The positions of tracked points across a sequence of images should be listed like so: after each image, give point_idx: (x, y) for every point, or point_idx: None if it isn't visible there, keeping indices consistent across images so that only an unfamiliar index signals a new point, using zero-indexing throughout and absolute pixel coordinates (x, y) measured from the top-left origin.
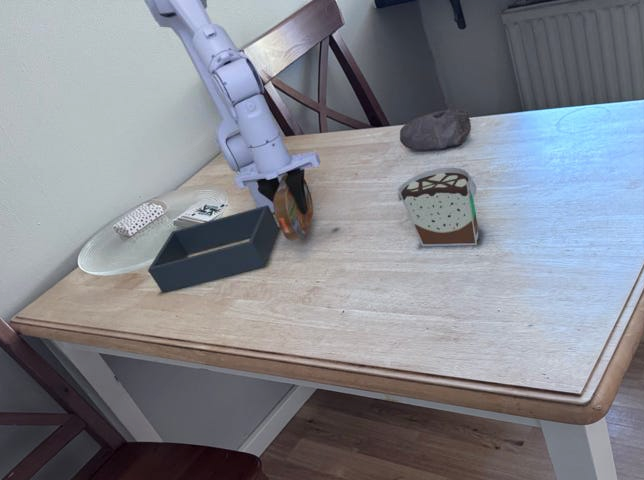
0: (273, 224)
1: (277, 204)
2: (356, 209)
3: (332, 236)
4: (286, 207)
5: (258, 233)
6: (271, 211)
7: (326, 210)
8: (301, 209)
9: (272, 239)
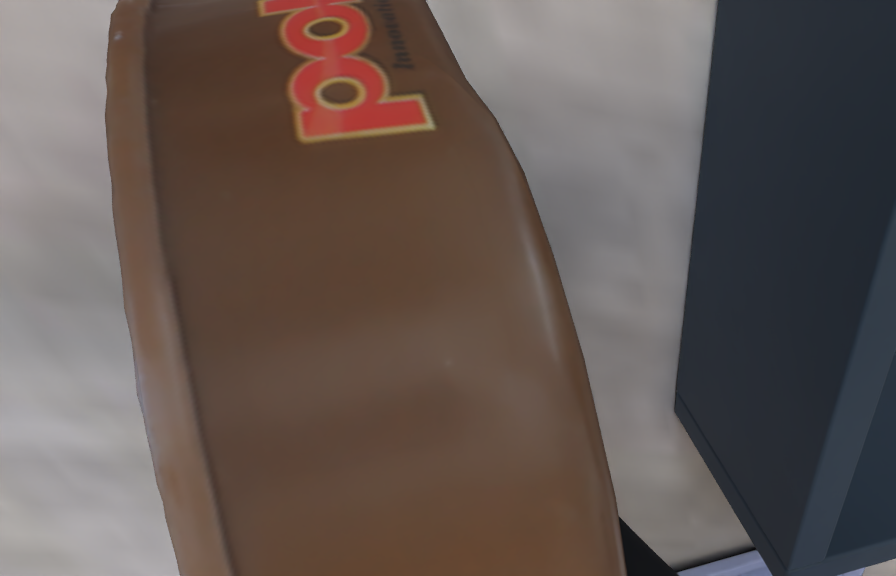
0: (716, 418)
1: (481, 507)
2: (5, 565)
3: (18, 233)
4: (180, 411)
5: (870, 176)
6: (757, 560)
7: None
8: None
9: (707, 256)
